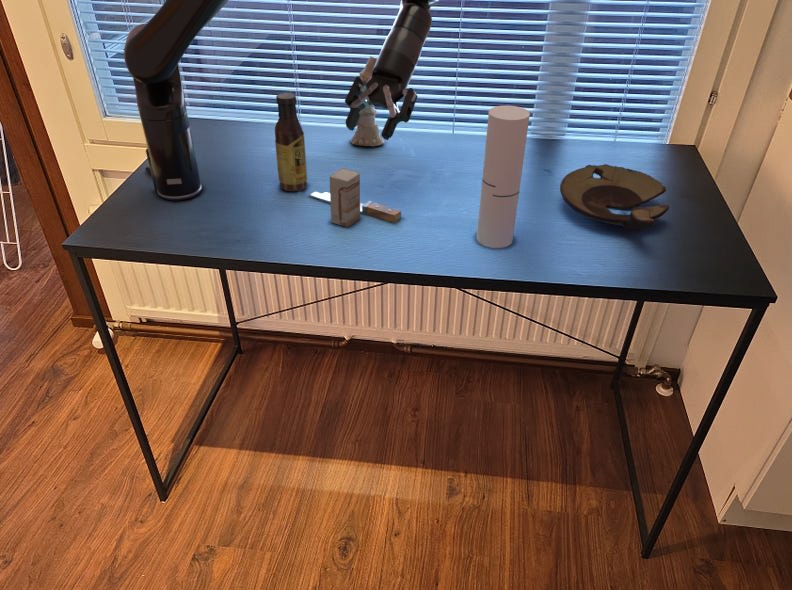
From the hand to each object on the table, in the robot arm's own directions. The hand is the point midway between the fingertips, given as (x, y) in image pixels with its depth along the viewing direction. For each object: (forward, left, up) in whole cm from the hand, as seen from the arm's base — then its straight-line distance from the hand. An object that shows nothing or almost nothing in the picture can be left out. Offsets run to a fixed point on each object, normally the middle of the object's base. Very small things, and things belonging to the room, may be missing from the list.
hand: (366, 133), depth 132 cm
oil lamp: (+45, +24, -16) cm, 54 cm away
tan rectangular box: (0, -8, -16) cm, 18 cm away
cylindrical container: (+29, +2, -16) cm, 33 cm away
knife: (-2, -2, -16) cm, 16 cm away
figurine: (-20, +28, -16) cm, 38 cm away
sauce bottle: (-19, -2, -16) cm, 25 cm away
